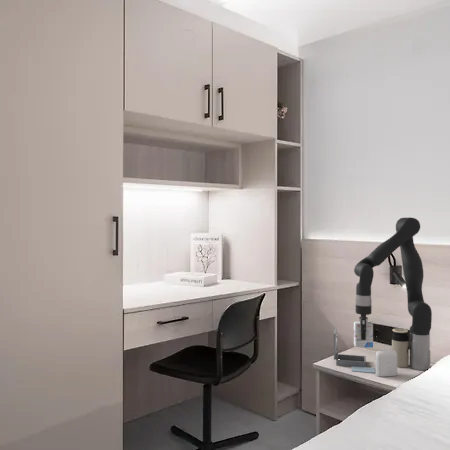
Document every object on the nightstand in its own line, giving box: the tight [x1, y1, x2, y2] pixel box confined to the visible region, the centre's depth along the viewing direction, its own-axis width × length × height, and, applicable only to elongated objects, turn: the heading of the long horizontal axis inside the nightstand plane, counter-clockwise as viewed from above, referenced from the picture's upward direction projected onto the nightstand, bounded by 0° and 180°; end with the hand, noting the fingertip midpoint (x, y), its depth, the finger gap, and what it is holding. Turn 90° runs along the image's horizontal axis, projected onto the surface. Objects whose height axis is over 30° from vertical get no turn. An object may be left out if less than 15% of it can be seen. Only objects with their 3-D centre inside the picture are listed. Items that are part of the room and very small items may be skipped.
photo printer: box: [374, 348, 398, 377], centre depth 227 cm, size 10×4×12 cm, turn 96°
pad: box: [351, 366, 376, 374], centre depth 234 cm, size 11×7×1 cm, turn 74°
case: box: [333, 328, 367, 368], centre depth 245 cm, size 16×11×16 cm
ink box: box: [353, 321, 374, 348], centre depth 234 cm, size 9×5×12 cm, turn 84°
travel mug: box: [391, 327, 410, 368], centre depth 241 cm, size 8×8×18 cm
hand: (363, 338), depth 234 cm, fingers closed on ink box, 5 cm apart
